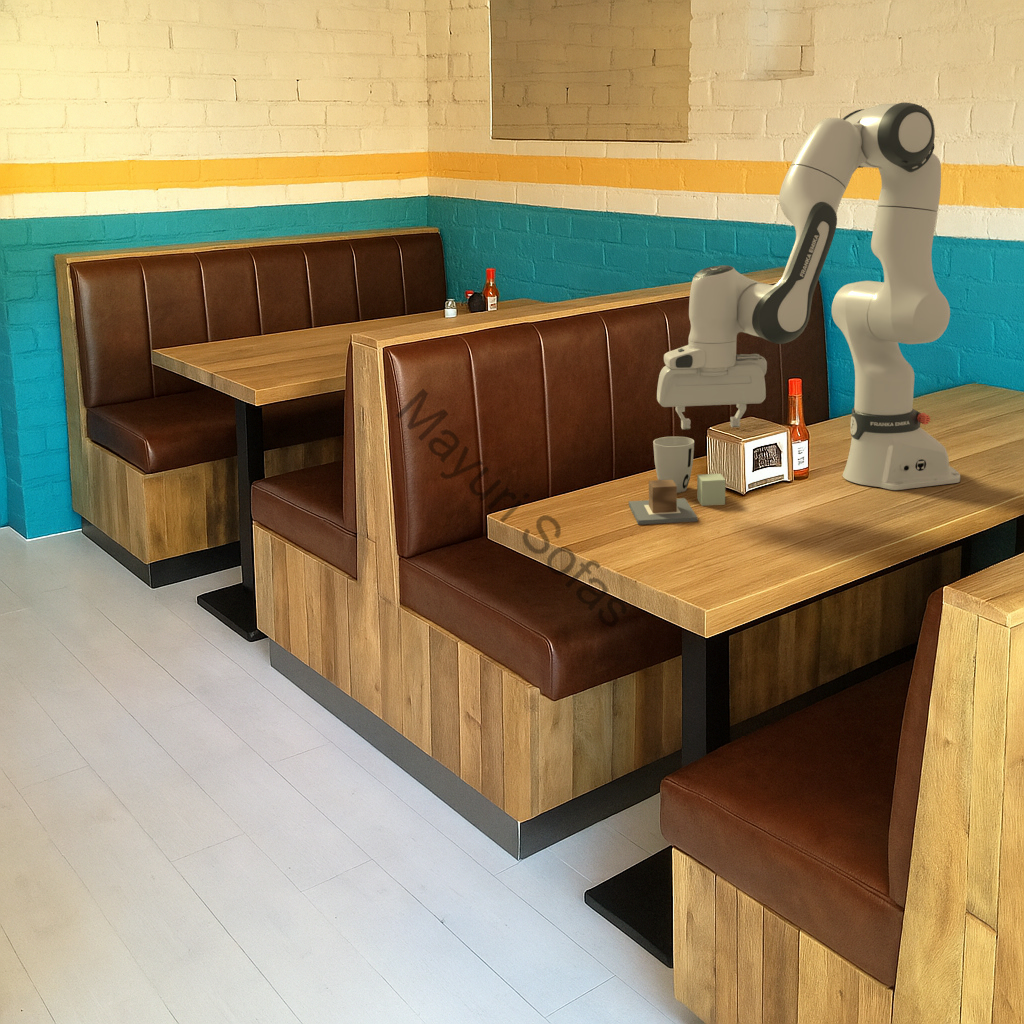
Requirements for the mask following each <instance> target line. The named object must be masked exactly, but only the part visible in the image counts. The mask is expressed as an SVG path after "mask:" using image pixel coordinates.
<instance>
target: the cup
mask: <svg viewBox="0 0 1024 1024" xmlns="http://www.w3.org/2000/svg"><path fill="white" fill-rule="evenodd" d="M652 443H653V444H652V445H653V456H654V458H653V459H654V465H655V466H654V467H655V472H656V477H657V480H673V481H674V483H675V484H676V486H677V494H679V493H684V492H685V491H687V489H688V486H689V483H690V481H691V475H692V470H693V463H694V453H695V452H694V451H695V440H694V439H693V438H690V437H687V436H664V437H659V438H655V439H654V440H653V441H652Z"/></svg>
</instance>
